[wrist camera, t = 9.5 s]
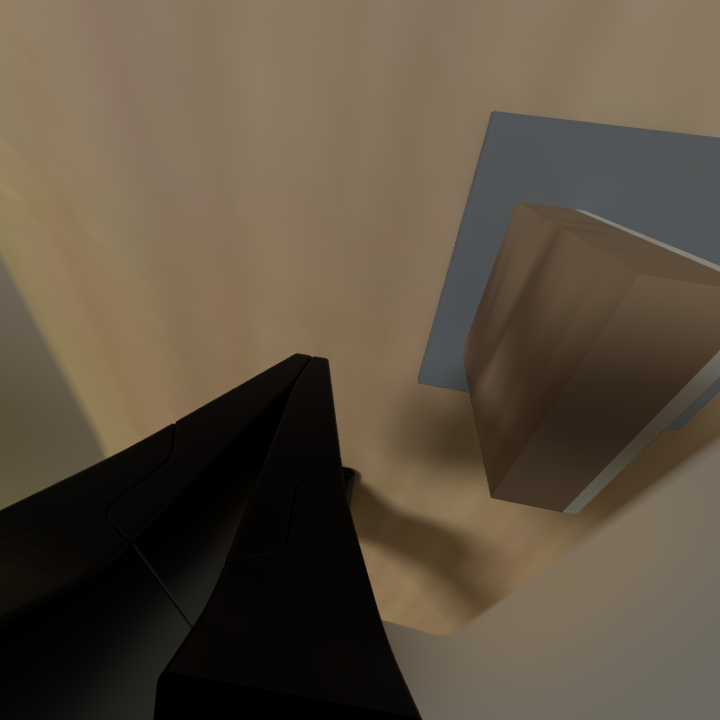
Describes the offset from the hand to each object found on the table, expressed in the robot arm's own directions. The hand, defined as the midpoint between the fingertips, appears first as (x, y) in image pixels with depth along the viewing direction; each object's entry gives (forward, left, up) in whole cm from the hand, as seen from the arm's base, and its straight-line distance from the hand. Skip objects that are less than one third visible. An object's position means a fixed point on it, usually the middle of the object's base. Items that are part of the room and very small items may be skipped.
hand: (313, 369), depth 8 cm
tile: (0, -7, -8) cm, 10 cm away
